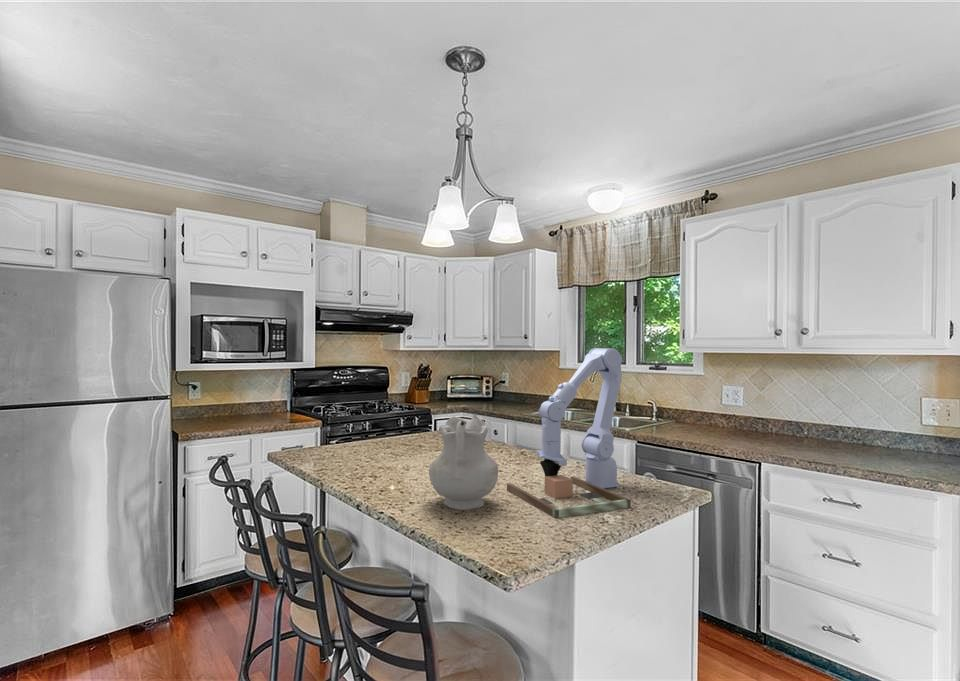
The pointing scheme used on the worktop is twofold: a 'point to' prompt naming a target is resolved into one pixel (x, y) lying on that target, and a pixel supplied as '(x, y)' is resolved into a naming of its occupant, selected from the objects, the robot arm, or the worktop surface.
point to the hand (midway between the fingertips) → (550, 484)
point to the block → (558, 486)
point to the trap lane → (595, 493)
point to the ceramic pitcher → (463, 464)
